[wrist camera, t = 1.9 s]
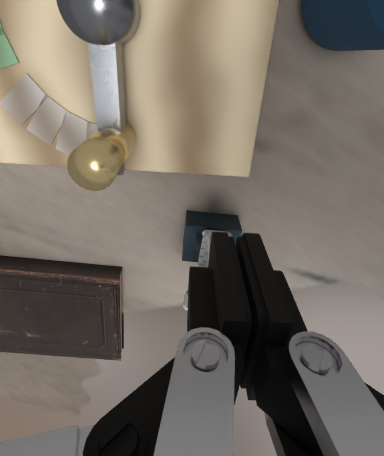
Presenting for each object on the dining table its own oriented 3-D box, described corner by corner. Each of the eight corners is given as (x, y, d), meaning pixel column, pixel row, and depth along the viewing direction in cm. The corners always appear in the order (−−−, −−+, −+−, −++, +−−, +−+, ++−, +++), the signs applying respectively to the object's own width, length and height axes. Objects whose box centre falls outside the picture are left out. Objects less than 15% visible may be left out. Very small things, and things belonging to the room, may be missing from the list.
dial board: (315, -241, 16) (325, -265, 15) (246, 172, 28) (249, 177, 27) (-131, -286, 15) (-159, -315, 14) (-1, 157, 28) (-10, 162, 26)
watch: (181, 257, 34) (177, 335, 24) (188, 195, 30) (186, 261, 20) (228, 261, 34) (242, 340, 25) (241, 201, 30) (264, 268, 21)
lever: (74, -34, 19) (8, -83, 12) (139, -29, 19) (110, -74, 13) (97, 169, 27) (64, 209, 20) (145, 172, 27) (128, 212, 20)
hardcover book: (124, 346, 43) (120, 360, 41) (-35, 334, 42) (-46, 348, 40) (123, 263, 35) (119, 276, 33) (-74, 245, 34) (-91, 257, 32)
